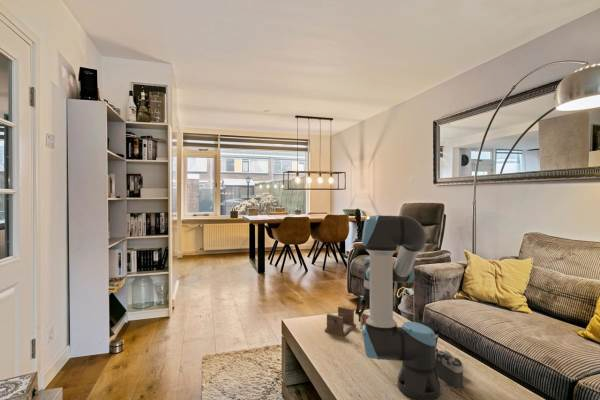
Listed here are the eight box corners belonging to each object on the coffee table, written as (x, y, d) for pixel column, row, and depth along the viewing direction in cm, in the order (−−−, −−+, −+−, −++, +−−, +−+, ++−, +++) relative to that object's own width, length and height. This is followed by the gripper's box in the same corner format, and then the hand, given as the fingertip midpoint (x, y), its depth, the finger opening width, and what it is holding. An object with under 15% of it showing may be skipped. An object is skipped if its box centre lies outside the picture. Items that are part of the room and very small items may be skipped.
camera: (476, 385, 122) (476, 359, 122) (455, 390, 119) (455, 363, 119) (445, 364, 137) (445, 341, 137) (426, 368, 134) (426, 345, 134)
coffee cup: (442, 359, 141) (442, 332, 141) (416, 357, 143) (416, 330, 143) (436, 348, 152) (437, 323, 152) (412, 345, 154) (413, 321, 154)
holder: (342, 337, 163) (343, 319, 163) (324, 332, 169) (324, 314, 169) (356, 325, 178) (356, 309, 178) (338, 321, 184) (338, 305, 184)
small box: (362, 333, 168) (362, 313, 167) (370, 331, 170) (370, 311, 170) (371, 339, 160) (371, 318, 160) (380, 337, 163) (380, 317, 163)
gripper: (395, 289, 162) (394, 332, 162) (354, 282, 174) (354, 323, 174) (390, 292, 156) (390, 338, 156) (348, 285, 168) (348, 328, 168)
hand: (371, 330), depth 165 cm, fingers closed on small box, 9 cm apart
